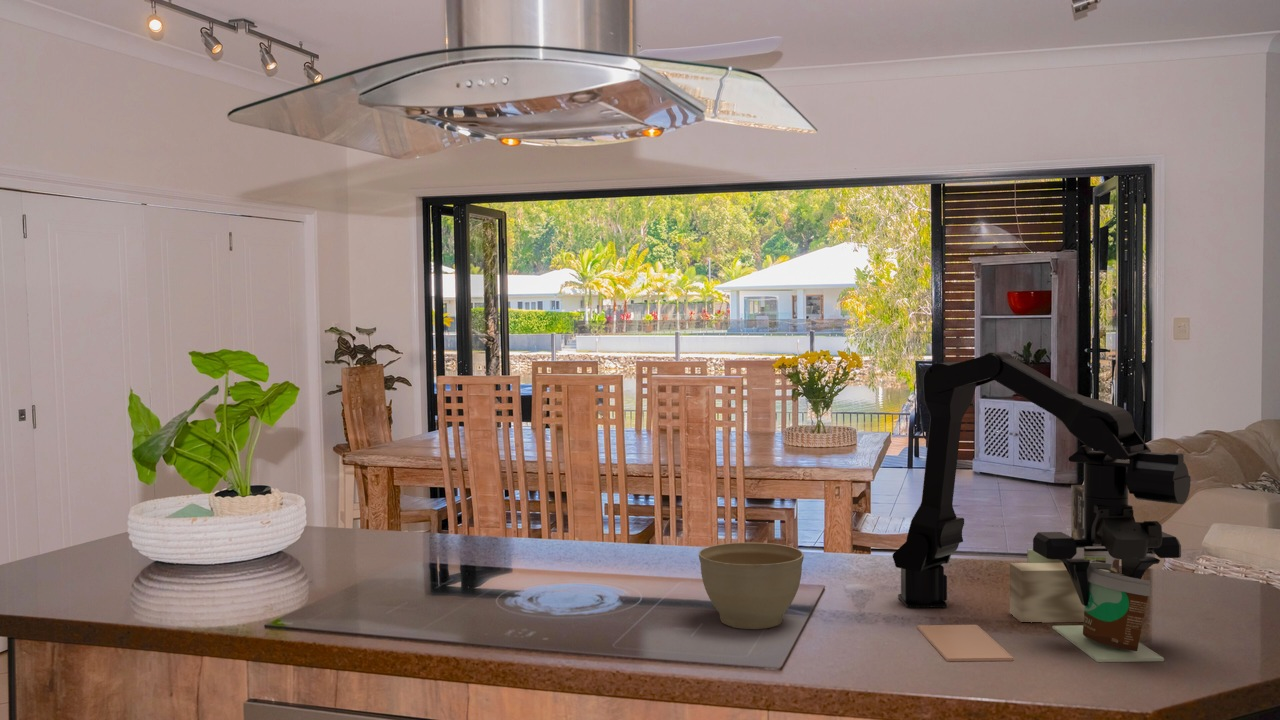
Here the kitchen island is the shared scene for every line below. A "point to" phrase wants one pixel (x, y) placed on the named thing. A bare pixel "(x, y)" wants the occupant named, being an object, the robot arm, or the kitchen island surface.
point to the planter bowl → (751, 582)
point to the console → (1043, 591)
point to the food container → (1114, 607)
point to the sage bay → (1105, 647)
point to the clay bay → (964, 643)
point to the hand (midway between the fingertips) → (1105, 605)
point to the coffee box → (1078, 523)
